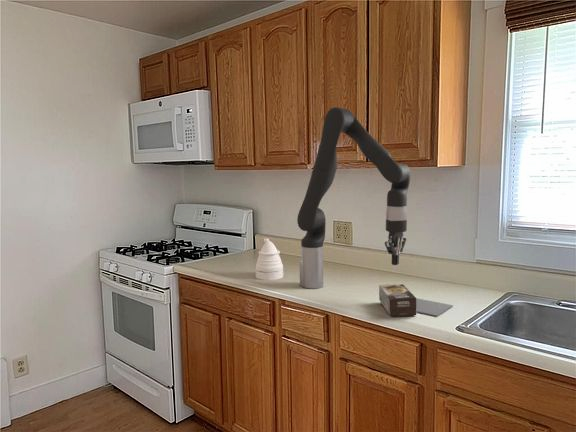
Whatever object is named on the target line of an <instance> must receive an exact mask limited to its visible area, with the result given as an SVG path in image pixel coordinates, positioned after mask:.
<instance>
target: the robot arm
mask: <svg viewBox="0 0 576 432" xmlns="http://www.w3.org/2000/svg"><path fill="white" fill-rule="evenodd" d="M341 133H343V134H345V135H346V136H348V137H349V138H351V139H352V140H353V142H355V143H356V145H357V146H358V147H359V150H360V151H361V153H362V155H363V156H364V157H366V158H367V160H368V161H370V163H371V164H373V165H374V166H375V167H376V168H377V170H378V172H379V173H380V174H381V176H382V177H383V178H384V179H385V180H386V181H388V183H391V185H390V186H391V187H390V190H389V191H387V195H386V210H385V231H386V232H388V237H387V238H388V240H387V241H384V246H385V248H386V251H387V253H388V255H391V265H392V266H399V263H400V255H401V253H402V252H403V251H404V247H405V245H406V241H407V238H406V237H404V233H405V232H407V230H408V229H407V228H408V227H407V225H408V220H407V219H408V208H407V207H408V206H407V204H408V202H407V201H408V199H407V198H408V192H409V191H408V190H409V188H410V187H409V186H410V181H411V170H410V167H409V166H408V165H406V164H404V163H398V162H396V161H395V160H394V159H393V158H392V154H391V153H390V151H388V149H386V148H385V147H384V146H383V145H382V144H381V143H380V142H378V141H377V139H375V137H373V135H371V133H369V132H368V131H367V129H366V128H364V126H363V125H362V123H360V121H359V120H358V118H357V117H356V116H355V115H354V113H353V112H352V111H351V110H349V109H347V108H342V107H336V106H335V107H332V108H330V109H329V110H328V111H327V113H326V114H325V115H324V121H323V127H322V132H321V138H320V142H319V145H318V150H317V153H316V157H315V160H314V163H313V168H312V172H311V173H310V174H311V175H310V179H309V182H308V186H307V188H306V191H305V196H304V198H303V201H302V204H301V206H300V208H299V211H298V214H297V227H299V229H300V230H301V231H302V232H303V231H304V232H306V233H305V235H304V236H303V238H302V239H301V241H300V243H301V246H300V247H301V249H300V250H301V251H300V252H301V259H300V260H301V263H299V286H302V288H304V289H305V288H306V289H320V288H322V287H324V242H325V239H326V215H325V213H324V211H323V210H322V209H321V208H319V206H320V204H321V201H322V199H323V198H324V196H325V195H326V193H327V192H328V190H329V189H330V188H331V186H332V184H333V182H334V180H335V177H336V173H337V169H338V156H337V146H338V141H339V139H340V136H341Z"/></svg>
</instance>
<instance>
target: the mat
mask: <svg viewBox="0 0 576 432" xmlns="http://www.w3.org/2000/svg"><path fill="white" fill-rule="evenodd" d="M453 307H454V305H453V304H448V303H445V302H440V301H439V302H437V301H434V300H427V299H424V298H423V299H422V298H418V297H416V314H417V313H418V314H421V315H426V316H432V317H434V318H435V317H436V318H438V317H440V316H441V315H443V314H444V313H446V312H447V311H448V310H450V309H452V308H453Z"/></svg>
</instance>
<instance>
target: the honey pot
mask: <svg viewBox="0 0 576 432" xmlns="http://www.w3.org/2000/svg"><path fill="white" fill-rule="evenodd" d="M263 242H264V243H263V245H262V247H261V250H259V251H258V257H257V260H256V264H255V278H256V279H258V280H261V281H274V280H280V279H282V278H283V277H284V265H283V262H282V259H281V256H280V253H281V252H280V250H279V249H278V248H276V245H275V244H274V243H273V242H272V241H271V240H270V238H267V237H266V238H265V237H264V238H263Z"/></svg>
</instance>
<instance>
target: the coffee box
mask: <svg viewBox="0 0 576 432" xmlns="http://www.w3.org/2000/svg"><path fill="white" fill-rule="evenodd" d="M378 297H379V298H378V300H379V301H380V304H381V305H382V306H383V307H384V309H385V310H386V312H387V313H388V315H389V317H390V318H391V317H392V318H393V317H409V316H417V312H416V298H417V297H416V296H415V295H414V294H413V293H412V292H411V291H410V290H409V289H408V288H407V286H406V285H404V283H392V284H391V283H390V284H389V283H387V284H379V285H378Z"/></svg>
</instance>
